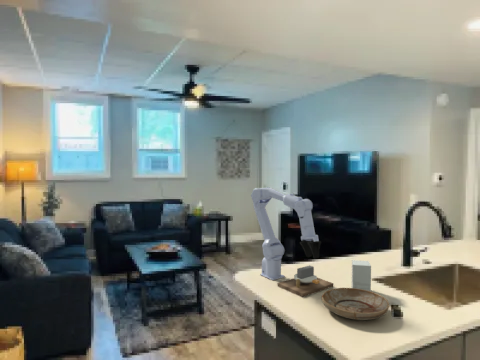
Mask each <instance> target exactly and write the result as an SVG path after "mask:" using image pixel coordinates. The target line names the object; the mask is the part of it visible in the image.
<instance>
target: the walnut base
mask: <svg viewBox="0 0 480 360" xmlns="http://www.w3.org/2000/svg"><path fill="white" fill-rule="evenodd" d="M317 280H319V281H320V283H318V284H315V283H313V282H312V283H304V282H300V279H296V280H295V279H294V277H293V278H290V279H287V280H284V281H279V282H277V287H278V288H281V289H283V290H285V291H288V292H289V293H292V294H295V295H296V296H299V297H301V298H303V297H307V296H310V295H313V294H315V293H319V292H322V291H324V290H327V289H328V290H329V289H330V288H331V289H332V288H333V287H334V283H333V282H331V281H328V280H325V279H322V278H319V277H317Z"/></svg>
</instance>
